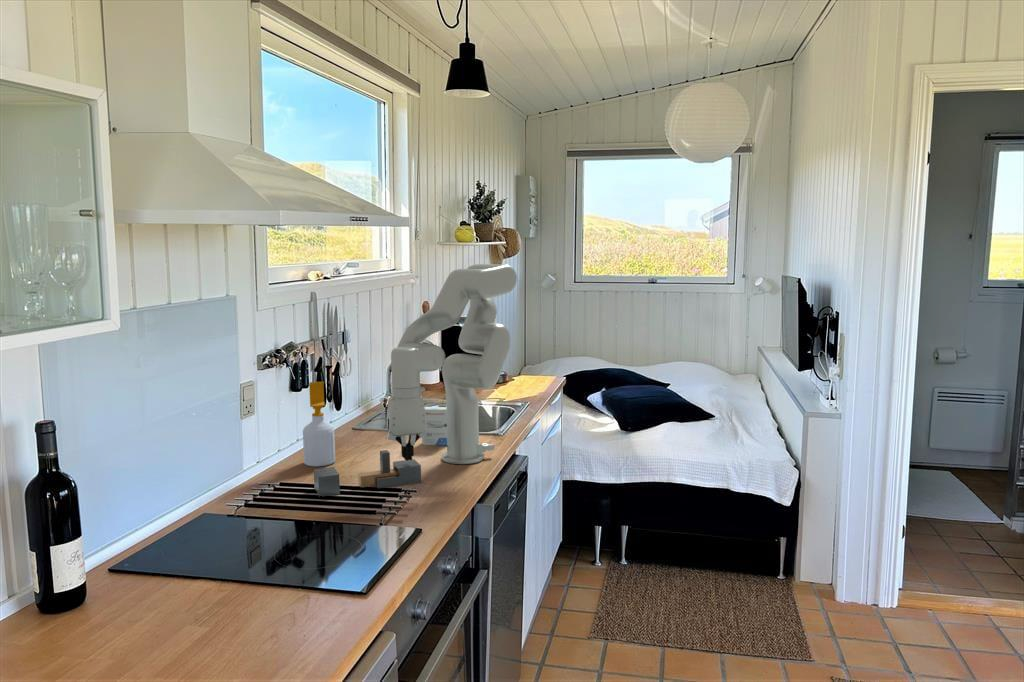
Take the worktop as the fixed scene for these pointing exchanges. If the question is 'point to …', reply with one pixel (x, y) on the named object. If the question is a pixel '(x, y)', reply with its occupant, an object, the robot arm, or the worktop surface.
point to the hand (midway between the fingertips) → (407, 458)
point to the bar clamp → (407, 474)
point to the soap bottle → (318, 432)
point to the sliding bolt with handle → (385, 471)
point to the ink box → (435, 426)
